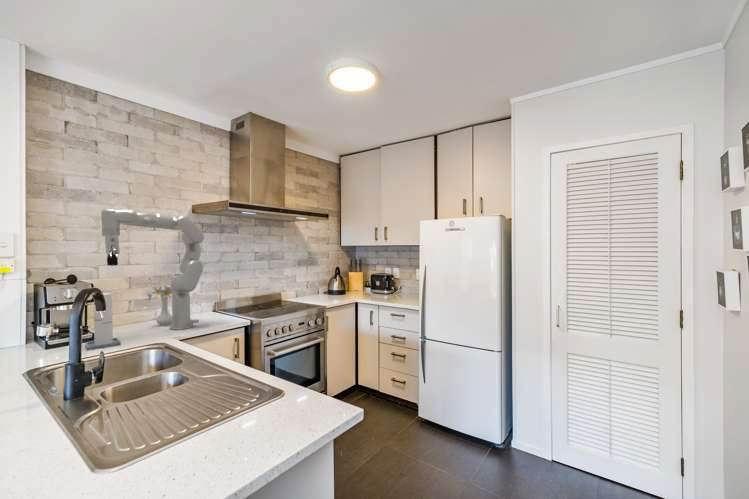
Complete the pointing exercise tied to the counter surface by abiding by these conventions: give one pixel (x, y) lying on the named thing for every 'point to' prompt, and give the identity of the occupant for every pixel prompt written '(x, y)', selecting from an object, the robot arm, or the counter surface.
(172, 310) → the robot arm
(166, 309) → the flower vase
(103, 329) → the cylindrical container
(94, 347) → the slate tray
